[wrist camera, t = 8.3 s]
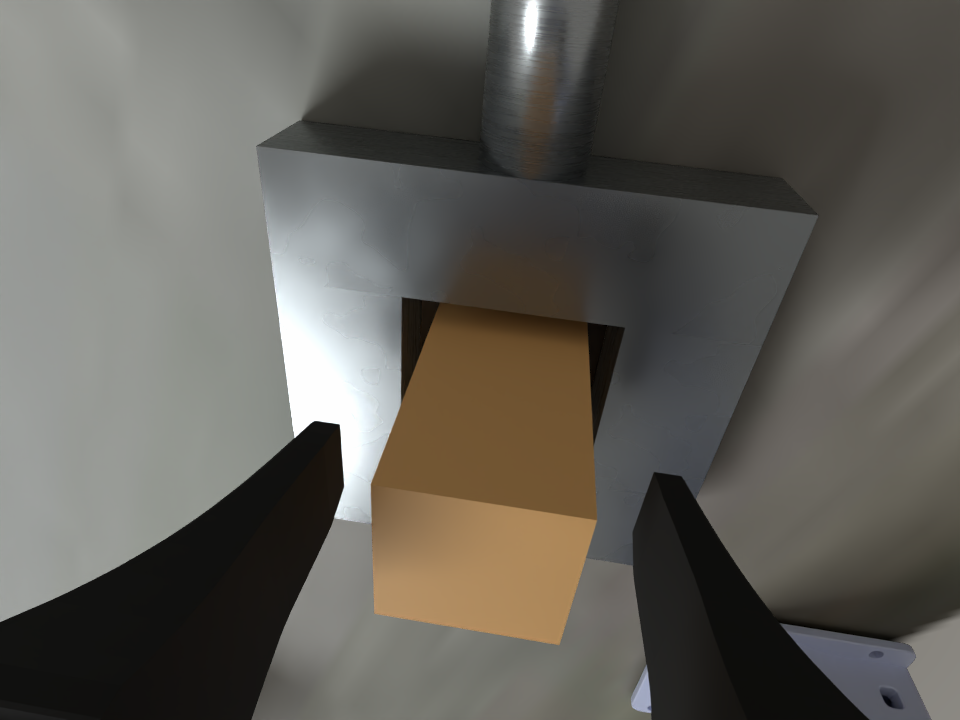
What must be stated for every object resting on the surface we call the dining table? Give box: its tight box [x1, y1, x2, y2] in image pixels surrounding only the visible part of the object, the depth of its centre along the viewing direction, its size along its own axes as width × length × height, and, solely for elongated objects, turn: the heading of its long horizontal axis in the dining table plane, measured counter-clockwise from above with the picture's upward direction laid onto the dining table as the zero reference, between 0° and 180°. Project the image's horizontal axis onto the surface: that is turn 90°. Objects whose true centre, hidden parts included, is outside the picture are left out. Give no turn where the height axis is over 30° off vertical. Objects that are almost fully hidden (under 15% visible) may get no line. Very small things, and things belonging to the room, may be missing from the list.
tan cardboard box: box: [371, 302, 597, 645], centre depth 15 cm, size 4×4×8 cm
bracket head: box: [256, 0, 819, 565], centre depth 15 cm, size 12×20×2 cm, turn 175°
